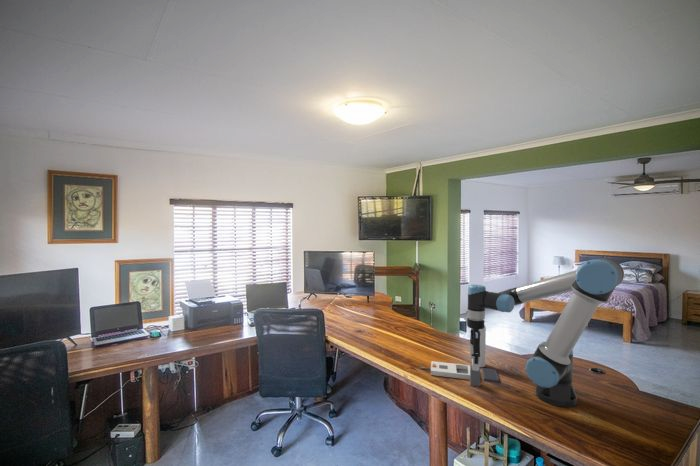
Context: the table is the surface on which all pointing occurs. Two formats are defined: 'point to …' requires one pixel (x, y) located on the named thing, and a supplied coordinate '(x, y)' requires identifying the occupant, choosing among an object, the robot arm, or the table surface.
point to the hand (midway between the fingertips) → (474, 364)
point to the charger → (474, 377)
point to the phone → (490, 375)
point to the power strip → (449, 370)
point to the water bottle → (482, 347)
